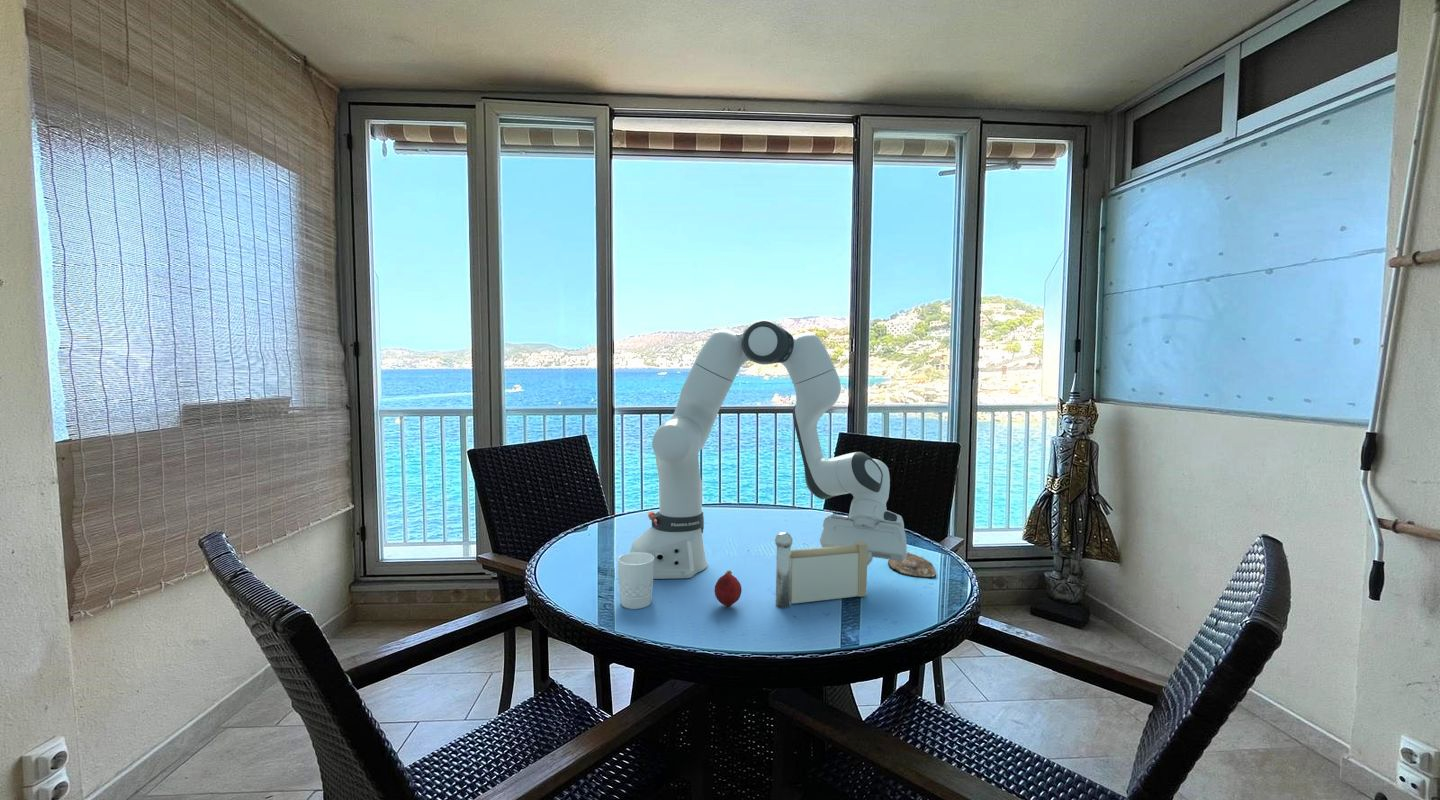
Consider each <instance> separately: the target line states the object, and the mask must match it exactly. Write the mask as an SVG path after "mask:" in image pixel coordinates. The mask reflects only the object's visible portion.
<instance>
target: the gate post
mask: <svg viewBox="0 0 1440 800" xmlns="http://www.w3.org/2000/svg"><path fill="white" fill-rule="evenodd" d="M774 543H775V546H776V567H775V568H776V570H775V573H776V574H775V578H776V579H775V606H776V607H778V608H780V609H781V608H782V609H786V608H788V607H789V606H790V604H791V602H790V551H791V550H792V548H791V547H792V545H793V537H792V535H791V534H790V533H788V532H786V531H780V532H779V533H778V534H777V535H776V536H775V538H774Z"/></svg>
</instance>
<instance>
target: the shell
mask: <svg viewBox="0 0 1440 800" xmlns="http://www.w3.org/2000/svg"><path fill="white" fill-rule="evenodd" d="M887 560H888V561H887V565H888V567H889V569H890V570H891V569H892V571H894V572H896V573H897V574H900V575H903V576H907V577H908V576H909V577H913V578H920V579H921V578H923V579H932V578H933V577H936V576H937V572H936V571H935V569H936V568H935V566H934V565H933V563H932V562H930V561H929V560H927V559H926V558H924V556H920V555H916V554H915V553H911V552H909V551H907V558H906V559H905V560H904V561H896V560H889V559H887Z"/></svg>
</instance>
